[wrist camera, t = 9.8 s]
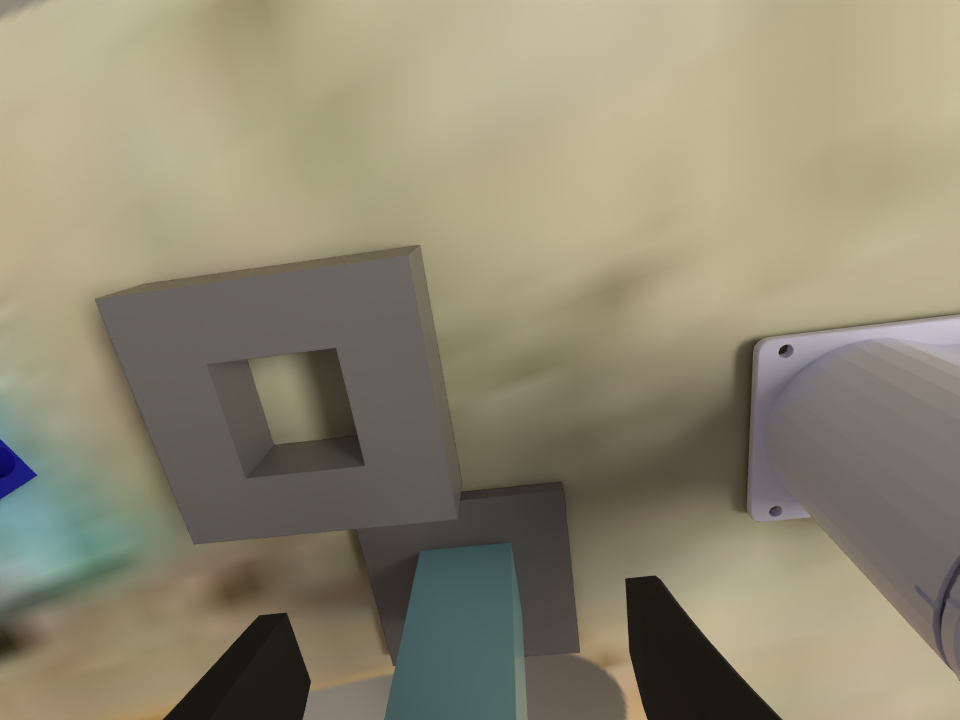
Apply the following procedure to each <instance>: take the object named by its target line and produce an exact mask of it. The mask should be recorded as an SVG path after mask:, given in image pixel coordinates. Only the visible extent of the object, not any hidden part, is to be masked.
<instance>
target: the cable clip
mask: <svg viewBox="0 0 960 720" xmlns="http://www.w3.org/2000/svg"><path fill="white" fill-rule="evenodd" d="M35 476H37V475H36V474H35V473H34V472H33V471H32V470H31V469H30V468H29V467H28V466H27V465H26V464H25V463H24V462H23V461H22V460H21V459H20V458H19V457H18V456H17V455H16V454H15V453H14V452H13V451H12V450H11V449H10V448H9V447H8V446H7V445H6V444H5V443H4V442H3V441H2V440H1V439H0V499H1V498H3V497H5V496H6V495H8V494H9V493H11V492H12V491H14V490H15V489H17V488H18V487H20V486H22V485H23V484H25V483H26V482H28V481H29V480H31V479H32V478H34V477H35Z"/></svg>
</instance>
